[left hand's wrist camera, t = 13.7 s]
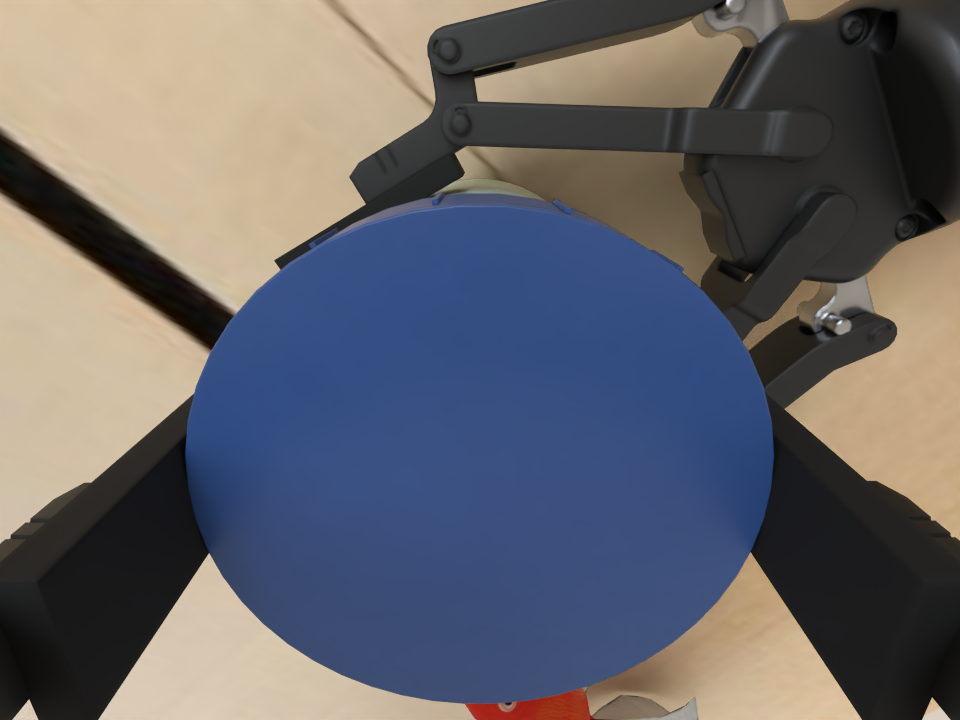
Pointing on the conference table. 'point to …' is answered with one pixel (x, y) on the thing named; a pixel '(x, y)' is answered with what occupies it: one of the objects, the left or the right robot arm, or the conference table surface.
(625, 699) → the fish
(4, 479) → the conference table surface
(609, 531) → the lid
